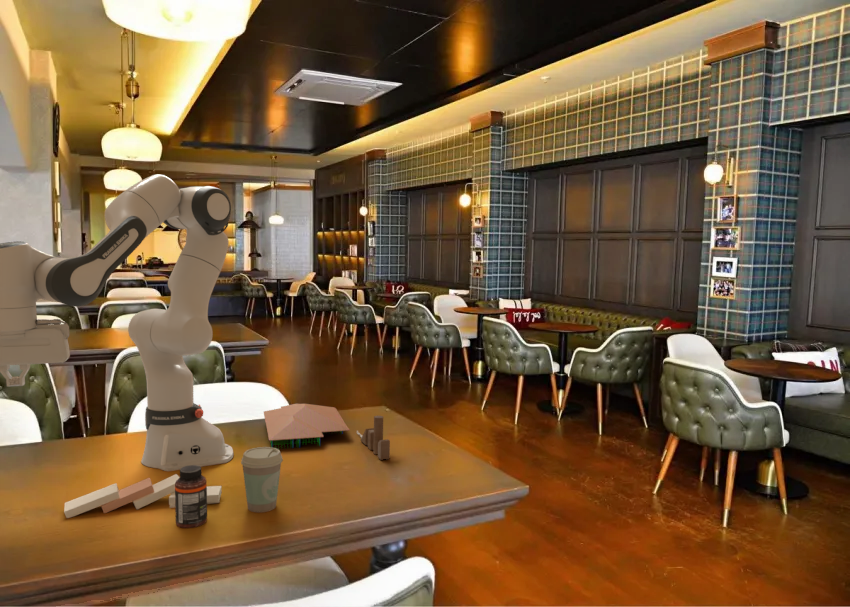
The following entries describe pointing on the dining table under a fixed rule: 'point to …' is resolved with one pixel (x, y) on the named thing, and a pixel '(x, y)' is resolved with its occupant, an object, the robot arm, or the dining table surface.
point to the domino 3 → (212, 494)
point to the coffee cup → (261, 477)
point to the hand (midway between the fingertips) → (15, 385)
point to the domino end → (91, 500)
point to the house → (302, 423)
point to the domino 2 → (158, 491)
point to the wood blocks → (376, 439)
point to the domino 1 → (130, 494)
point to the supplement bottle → (191, 497)
